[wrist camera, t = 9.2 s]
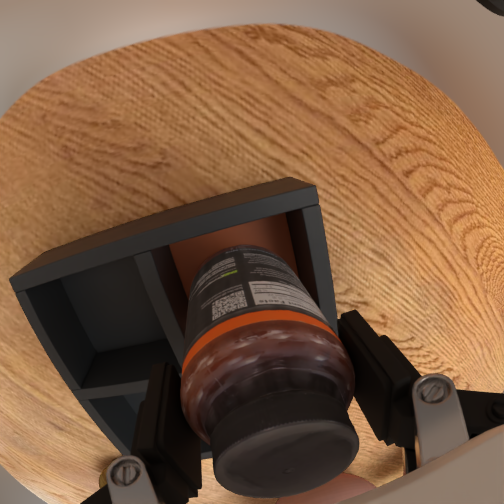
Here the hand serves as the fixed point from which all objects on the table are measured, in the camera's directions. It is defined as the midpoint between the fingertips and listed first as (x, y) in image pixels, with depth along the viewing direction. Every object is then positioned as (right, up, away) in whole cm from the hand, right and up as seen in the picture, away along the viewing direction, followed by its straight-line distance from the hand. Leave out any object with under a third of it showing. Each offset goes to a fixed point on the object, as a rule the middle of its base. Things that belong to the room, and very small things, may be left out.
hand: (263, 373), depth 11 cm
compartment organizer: (-5, -2, +12) cm, 13 cm away
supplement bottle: (-1, +2, +7) cm, 7 cm away
